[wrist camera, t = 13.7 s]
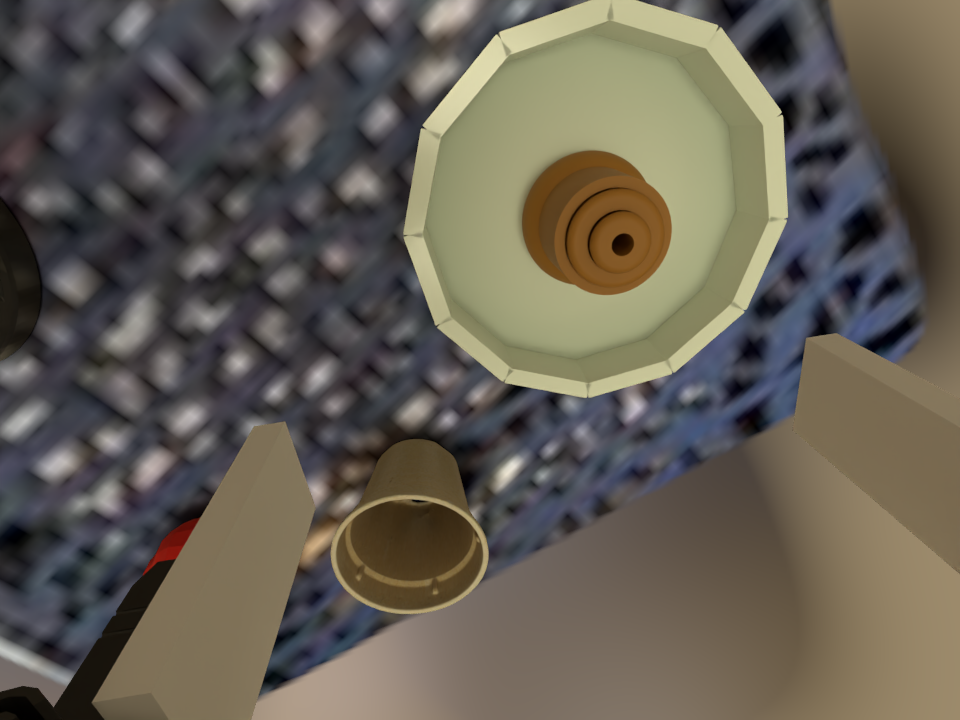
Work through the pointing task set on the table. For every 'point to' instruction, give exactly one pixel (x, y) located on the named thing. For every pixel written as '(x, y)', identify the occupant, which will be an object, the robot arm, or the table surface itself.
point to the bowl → (650, 149)
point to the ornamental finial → (596, 223)
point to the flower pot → (411, 534)
